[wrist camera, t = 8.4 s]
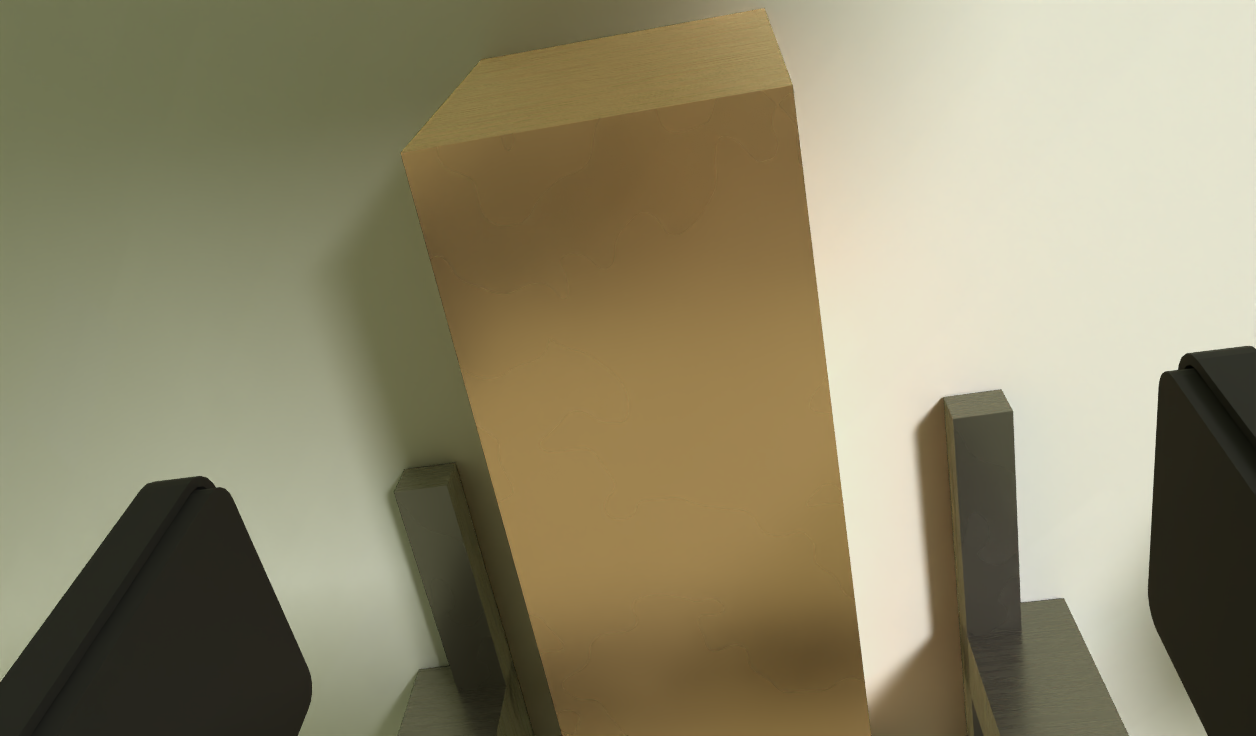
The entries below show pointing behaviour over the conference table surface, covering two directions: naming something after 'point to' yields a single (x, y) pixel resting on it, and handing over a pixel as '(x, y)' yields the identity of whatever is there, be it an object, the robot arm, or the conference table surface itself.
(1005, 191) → the conference table surface
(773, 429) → the long brass-colored rectangular prism
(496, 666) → the gray arch posts
